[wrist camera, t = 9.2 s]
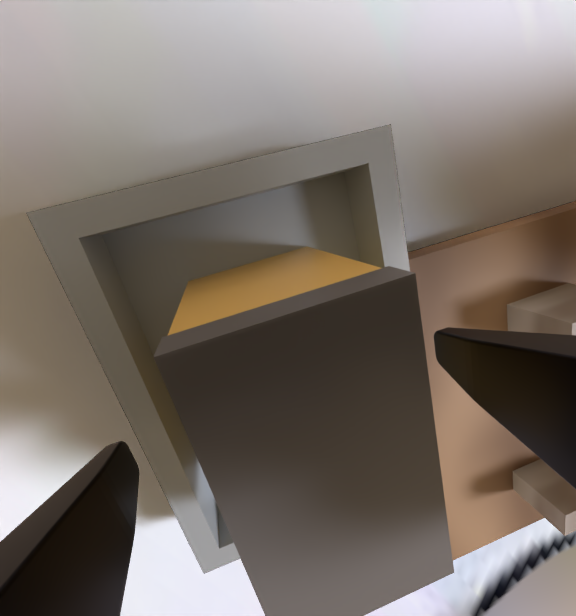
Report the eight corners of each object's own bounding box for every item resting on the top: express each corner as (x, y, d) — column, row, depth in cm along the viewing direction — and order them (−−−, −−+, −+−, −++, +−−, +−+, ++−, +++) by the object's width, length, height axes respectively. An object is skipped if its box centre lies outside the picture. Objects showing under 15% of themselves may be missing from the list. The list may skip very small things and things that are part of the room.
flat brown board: (631, 184, 14) (760, 173, 11) (607, 465, 19) (690, 517, 16) (381, 260, 12) (443, 275, 9) (427, 547, 17) (478, 625, 14)
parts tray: (352, 144, 11) (390, 124, 9) (401, 434, 15) (436, 475, 12) (71, 214, 10) (26, 212, 7) (205, 512, 14) (203, 573, 11)
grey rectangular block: (308, 244, 11) (414, 272, 5) (348, 417, 13) (454, 572, 7) (186, 280, 10) (153, 357, 4) (250, 455, 12) (282, 654, 7)
